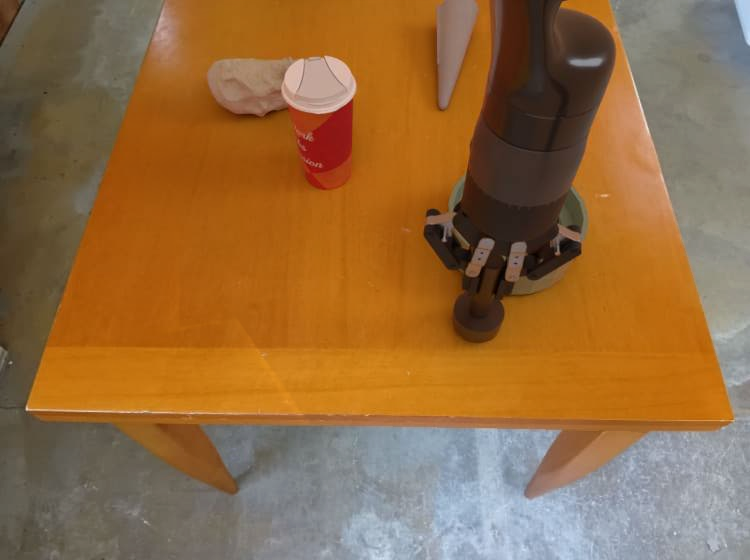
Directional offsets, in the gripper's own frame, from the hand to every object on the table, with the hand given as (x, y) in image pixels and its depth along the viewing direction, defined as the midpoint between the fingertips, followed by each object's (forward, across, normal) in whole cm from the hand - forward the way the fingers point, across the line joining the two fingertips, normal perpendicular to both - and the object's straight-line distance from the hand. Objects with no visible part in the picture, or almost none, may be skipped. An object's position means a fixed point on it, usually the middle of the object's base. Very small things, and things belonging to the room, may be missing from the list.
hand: (485, 289), depth 55 cm
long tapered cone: (+8, -5, +43) cm, 44 cm away
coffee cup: (+8, -20, +20) cm, 29 cm away
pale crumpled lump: (+8, -30, +32) cm, 45 cm away
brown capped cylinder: (+6, 0, 0) cm, 6 cm away
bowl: (+8, +3, +12) cm, 15 cm away
